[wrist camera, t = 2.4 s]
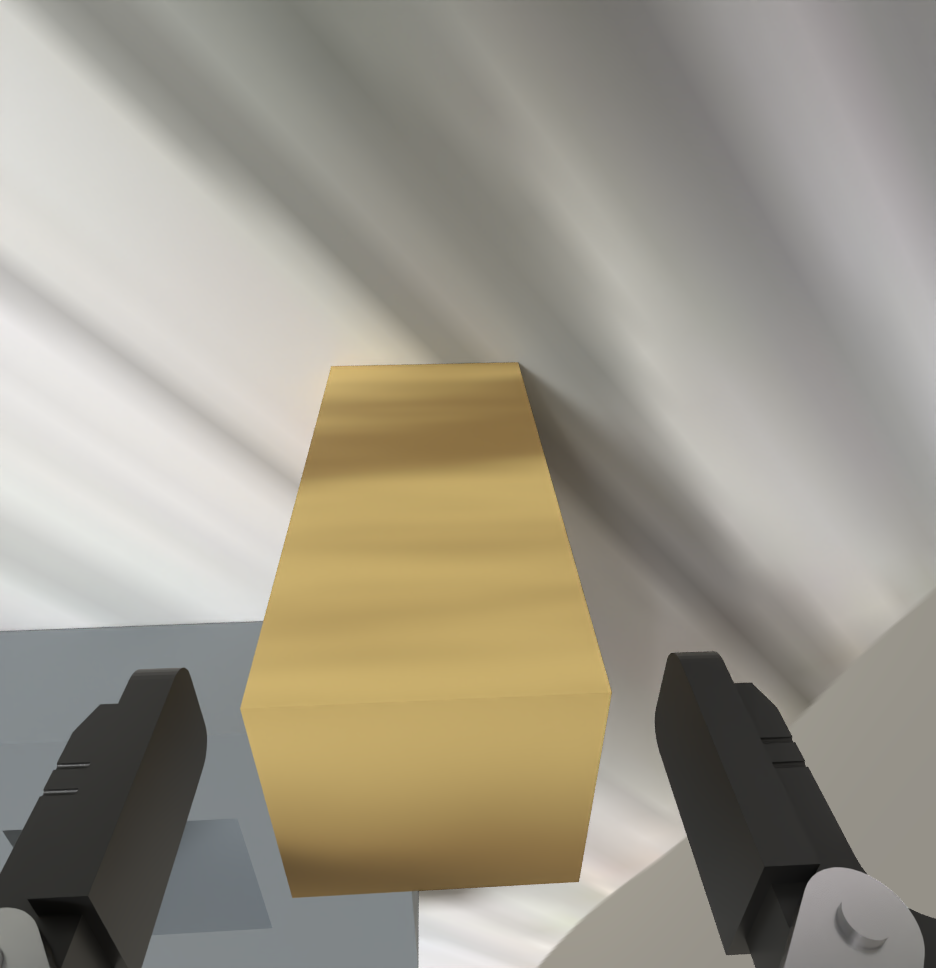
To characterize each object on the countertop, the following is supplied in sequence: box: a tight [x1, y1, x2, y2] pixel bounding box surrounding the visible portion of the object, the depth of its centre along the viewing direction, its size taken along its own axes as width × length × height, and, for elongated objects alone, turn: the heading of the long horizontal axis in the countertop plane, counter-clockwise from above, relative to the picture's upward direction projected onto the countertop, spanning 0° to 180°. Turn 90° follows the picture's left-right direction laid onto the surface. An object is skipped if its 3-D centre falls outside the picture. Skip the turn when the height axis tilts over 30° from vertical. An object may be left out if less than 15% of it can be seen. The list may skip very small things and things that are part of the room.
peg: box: [240, 362, 612, 898], centre depth 14 cm, size 4×4×10 cm
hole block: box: [0, 621, 419, 968], centre depth 23 cm, size 14×16×4 cm
